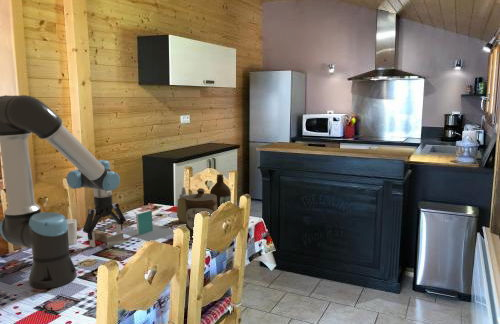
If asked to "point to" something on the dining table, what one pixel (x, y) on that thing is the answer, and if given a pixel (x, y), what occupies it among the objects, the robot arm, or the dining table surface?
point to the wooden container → (199, 206)
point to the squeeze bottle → (182, 206)
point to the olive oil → (221, 191)
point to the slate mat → (151, 233)
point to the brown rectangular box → (108, 238)
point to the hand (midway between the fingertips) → (106, 242)
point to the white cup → (72, 231)
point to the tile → (144, 222)
